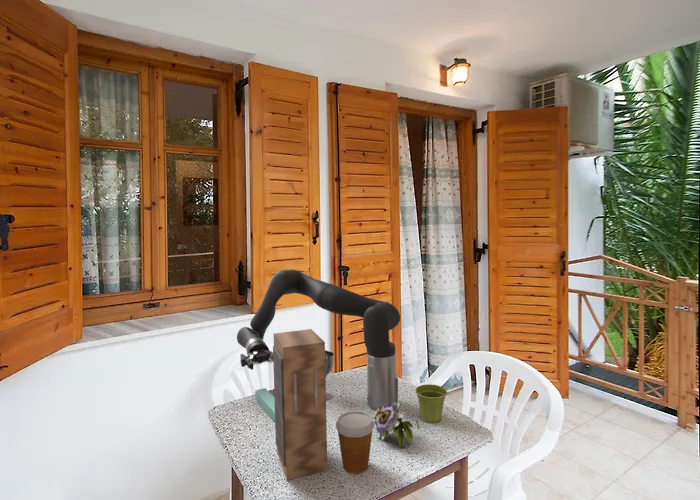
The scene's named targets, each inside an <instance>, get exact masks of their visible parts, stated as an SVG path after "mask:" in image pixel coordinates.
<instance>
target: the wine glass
mask: <svg viewBox="0 0 700 500" xmlns="http://www.w3.org/2000/svg"><path fill="white" fill-rule="evenodd" d="M334 353H335V352H333V351H332V350H328V349H327V350H326V349H325V373H326V378H327V377H328V376H329V375H330V374H331V372H332V371H333V367H334V364H335V363H334V361H335V355H334ZM333 398H334V394H333V393H331V392H330V391H329V392H328V391H326V402H327V401H331V400H332V399H333Z"/></svg>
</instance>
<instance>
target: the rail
mask: <svg viewBox="0 0 700 500" xmlns="http://www.w3.org/2000/svg"><path fill="white" fill-rule="evenodd" d="M254 391H255V392H254V395H255V402H257V403H258V405H259V406H260V407H261V408H262V410H263V411H264V412H265V413H266V415H268V417H269V418H270V420H272V422H273V423H274V424H275V399H274V395H273V394H272V393H271V392H270V391H269V390H268V388H266V387H263V388H260V389H256V390H254Z"/></svg>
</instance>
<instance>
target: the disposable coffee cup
mask: <svg viewBox="0 0 700 500" xmlns="http://www.w3.org/2000/svg"><path fill="white" fill-rule="evenodd" d="M335 428H336V431H337V434H338V441H339V450H340V456H341V461H342V469H344V471H346V472H347V473H350V474H355V475H356V474H361V473H363V472H365V471H366V470H368V468H369V462H370V453H371V444H372V437H373V430H374V428H375V421H374V420H373V417H372V416H371V415H370V414H369V413H367V412H365V411H361V410H352V411H351V410H350V411H349V410H348V411H346V412H343V413H341V414H340V415H339V416H338V417H337V419H336V422H335Z"/></svg>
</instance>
